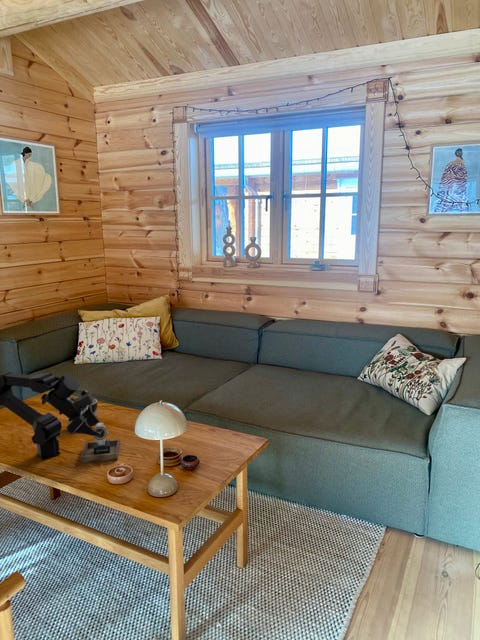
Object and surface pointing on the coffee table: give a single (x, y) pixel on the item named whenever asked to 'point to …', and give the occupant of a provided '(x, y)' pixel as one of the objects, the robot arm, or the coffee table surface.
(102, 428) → the watch
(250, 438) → the coffee table surface
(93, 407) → the coffee mug
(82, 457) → the valet tray
